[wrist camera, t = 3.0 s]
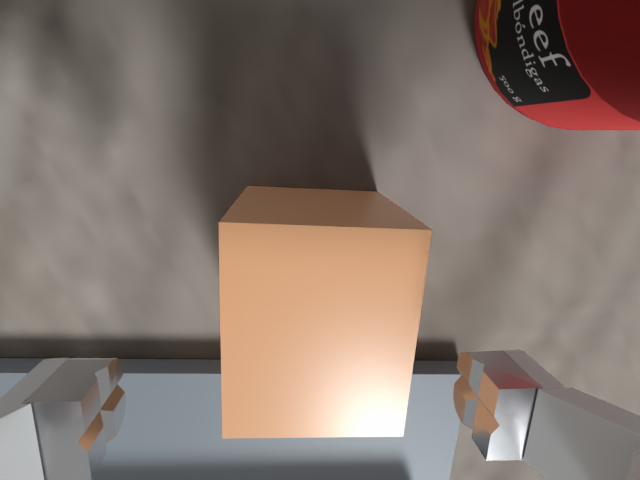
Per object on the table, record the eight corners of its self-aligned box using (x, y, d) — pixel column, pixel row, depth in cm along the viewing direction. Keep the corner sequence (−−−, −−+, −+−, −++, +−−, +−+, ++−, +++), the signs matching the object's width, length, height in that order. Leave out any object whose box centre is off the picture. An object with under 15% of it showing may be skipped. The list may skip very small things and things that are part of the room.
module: (377, 191, 15) (432, 229, 9) (363, 329, 16) (403, 436, 11) (247, 185, 14) (218, 222, 9) (247, 327, 16) (222, 438, 10)
